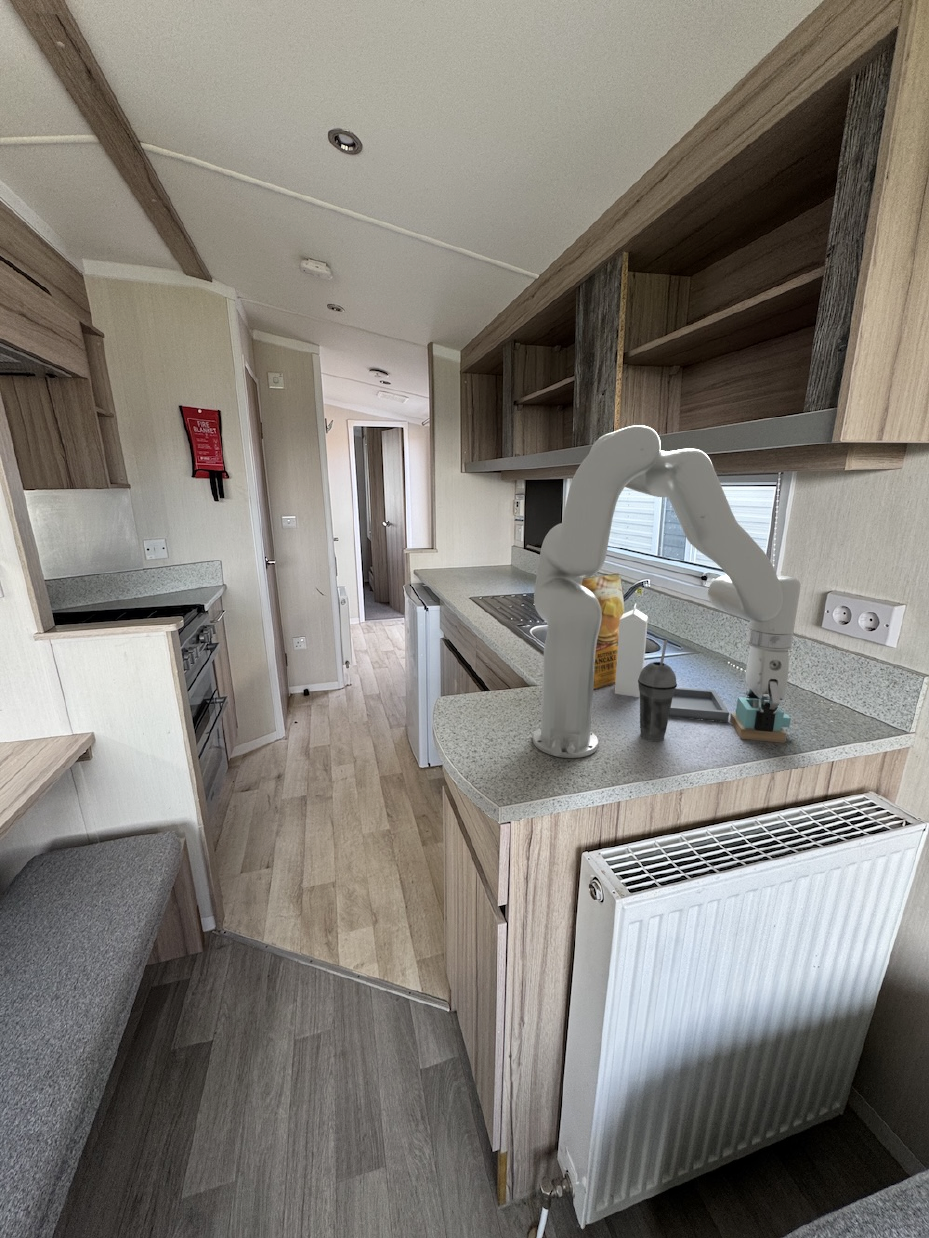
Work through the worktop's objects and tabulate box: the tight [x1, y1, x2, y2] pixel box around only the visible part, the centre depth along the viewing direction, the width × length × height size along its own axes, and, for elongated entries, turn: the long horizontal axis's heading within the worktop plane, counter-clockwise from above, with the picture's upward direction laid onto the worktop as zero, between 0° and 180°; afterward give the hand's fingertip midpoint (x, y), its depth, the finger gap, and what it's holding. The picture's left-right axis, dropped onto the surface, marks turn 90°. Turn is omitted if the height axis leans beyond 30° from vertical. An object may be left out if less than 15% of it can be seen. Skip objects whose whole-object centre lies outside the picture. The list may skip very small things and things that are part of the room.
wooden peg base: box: [729, 700, 787, 744], centre depth 103 cm, size 8×8×6 cm
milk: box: [614, 603, 649, 698], centre depth 123 cm, size 6×6×22 cm
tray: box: [669, 687, 730, 723], centre depth 116 cm, size 13×13×2 cm
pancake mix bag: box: [582, 573, 626, 690], centre depth 129 cm, size 7×19×28 cm, turn 124°
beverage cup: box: [638, 640, 678, 742], centre depth 100 cm, size 7×7×20 cm
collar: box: [735, 696, 791, 731], centre depth 103 cm, size 7×9×4 cm
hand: (757, 721), depth 104 cm, fingers closed on collar, 6 cm apart
